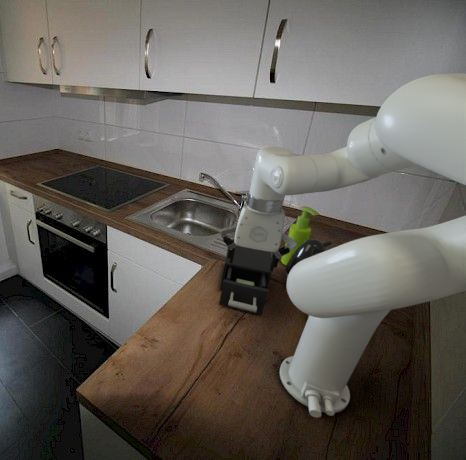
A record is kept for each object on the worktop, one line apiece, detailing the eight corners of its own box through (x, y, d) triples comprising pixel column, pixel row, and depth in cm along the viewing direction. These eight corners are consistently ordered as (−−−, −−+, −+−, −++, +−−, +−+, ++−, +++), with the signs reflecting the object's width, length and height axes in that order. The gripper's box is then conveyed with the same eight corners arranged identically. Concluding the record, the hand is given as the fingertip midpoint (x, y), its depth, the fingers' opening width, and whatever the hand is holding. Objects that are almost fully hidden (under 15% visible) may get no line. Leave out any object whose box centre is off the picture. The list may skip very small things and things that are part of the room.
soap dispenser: (291, 270, 101) (309, 214, 92) (276, 258, 107) (292, 205, 98) (306, 267, 102) (325, 212, 93) (291, 256, 108) (307, 203, 99)
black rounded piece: (328, 292, 91) (346, 247, 84) (296, 296, 90) (312, 250, 83) (305, 272, 100) (319, 230, 93) (275, 275, 99) (287, 232, 92)
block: (250, 305, 83) (253, 292, 81) (232, 301, 85) (235, 287, 83) (250, 295, 87) (254, 282, 85) (233, 291, 88) (236, 278, 86)
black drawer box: (263, 300, 88) (271, 272, 84) (219, 290, 92) (224, 262, 88) (264, 274, 99) (271, 248, 95) (224, 265, 103) (229, 240, 99)
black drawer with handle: (261, 328, 77) (268, 304, 74) (216, 316, 81) (221, 293, 77) (262, 287, 92) (268, 265, 88) (223, 279, 95) (228, 257, 92)
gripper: (224, 202, 72) (214, 265, 80) (308, 214, 66) (289, 280, 74) (227, 192, 79) (217, 251, 86) (305, 202, 73) (287, 264, 80)
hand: (250, 264), depth 80 cm, fingers open, 9 cm apart
